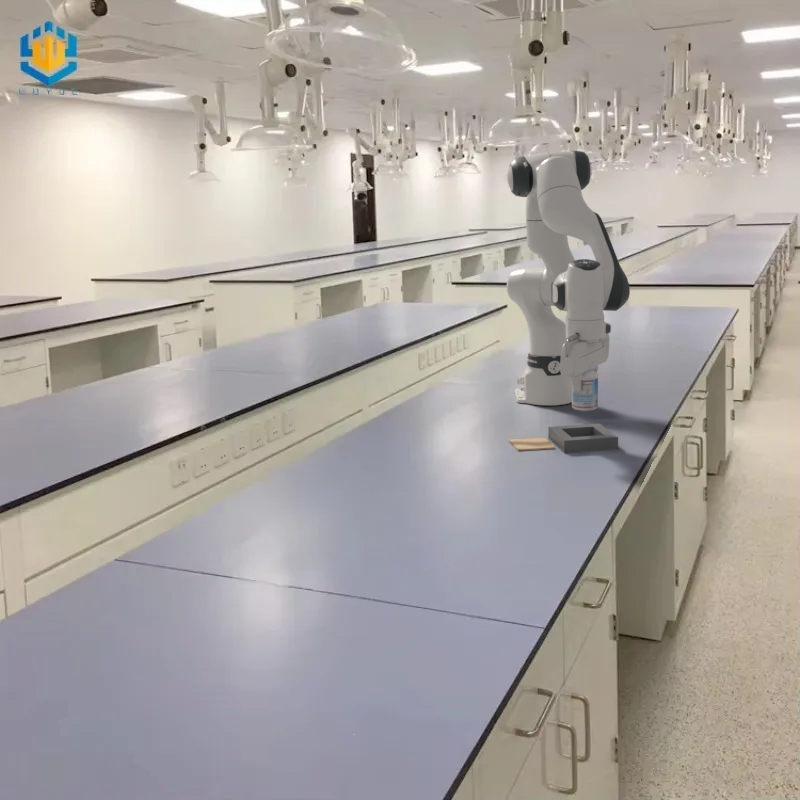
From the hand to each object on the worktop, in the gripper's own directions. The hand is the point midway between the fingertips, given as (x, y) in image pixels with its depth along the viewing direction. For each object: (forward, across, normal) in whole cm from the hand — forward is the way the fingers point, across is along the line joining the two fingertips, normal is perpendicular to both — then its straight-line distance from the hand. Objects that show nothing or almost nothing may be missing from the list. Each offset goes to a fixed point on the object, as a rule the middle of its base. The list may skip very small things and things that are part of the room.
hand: (584, 387), depth 204 cm
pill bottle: (+5, 0, 0) cm, 5 cm away
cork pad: (+14, -7, +10) cm, 19 cm away
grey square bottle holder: (+14, -1, 0) cm, 14 cm away
